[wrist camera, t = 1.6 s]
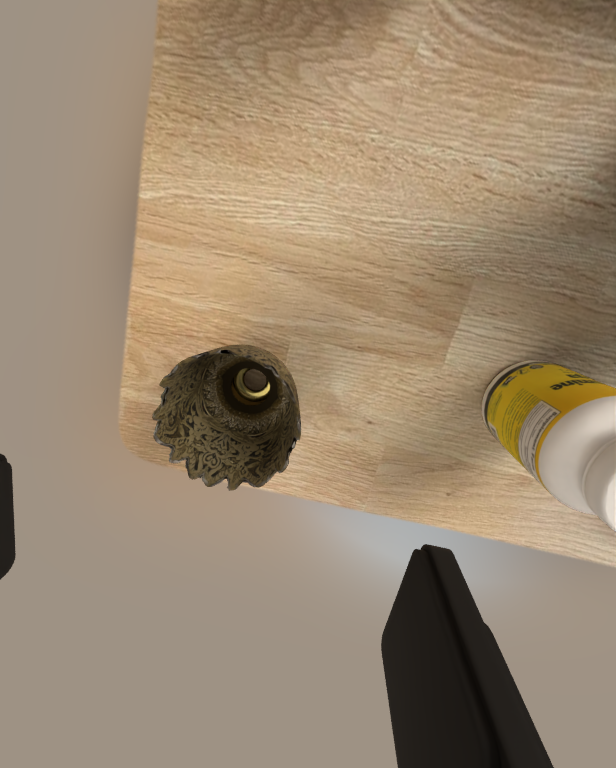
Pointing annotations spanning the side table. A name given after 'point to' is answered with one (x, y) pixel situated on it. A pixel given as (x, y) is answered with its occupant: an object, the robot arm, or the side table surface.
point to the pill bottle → (558, 432)
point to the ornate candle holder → (229, 416)
